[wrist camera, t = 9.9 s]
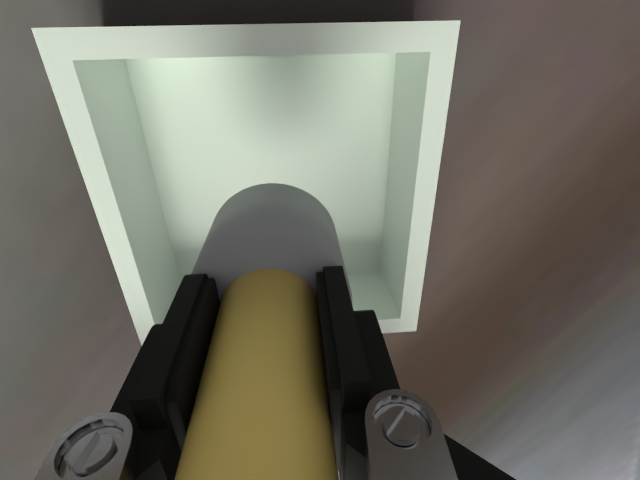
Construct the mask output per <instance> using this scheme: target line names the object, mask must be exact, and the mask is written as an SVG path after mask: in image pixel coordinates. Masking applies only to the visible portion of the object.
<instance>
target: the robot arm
mask: <svg viewBox="0 0 640 480" xmlns="http://www.w3.org/2000/svg"><path fill="white" fill-rule="evenodd" d="M316 295H317V307H318V316H319V325H320V334H321V342H322V351H323V360H324V369H325V378H326V387H327V396H328V405H329V414H330V422H331V424H332V427H333V435H334V443H335V452H336V461H337V469H338V470H339V476H340V480H516V479H514V478H513V477H511V476H509V475H508V474H506V473H505V472H503V471H502V470H500V469H498V468H497V467H495V466H494V465H492V464H491V463H489V462H487V461H486V460H484V459H483V458H481V457H480V456H478V455H476V454H475V453H473V452H472V451H470V450H469V449H467V448H465V447H464V446H462V445H461V444H459V443H458V442H456V441H454V440H453V439H451V438H450V437H448V436H447V435H445V434H443V431H442V427H441V424H440V421H439V419H438V417H437V414H436V412H435V410H434V409H433V408H432V407H431V406H430V404H429V403H428V402H427V401H426V400H424V399H423V398H421V397H420V396H419V395H417V394H415V393H412V392H409V391H407V390H400V387H399V384H398V381H397V378H396V375H395V372H394V369H393V366H392V362H391V359H390V356H389V353H388V350H387V347H386V344H385V341H384V338H383V335H382V332H381V329H380V326H379V323H378V320H377V317H376V314H375V311H374V310H359V311H354V310H353V306H352V302H351V298H350V294H349V290H348V286H347V282H346V278H345V274H344V270H343V266H342V265H341V266H324V267H323V272H316ZM219 307H220V302H219V297H218V292H217V286H216V282H215V279H214V278H208V275H207V274H189V275H185V276H184V277H183V279H182V281H181V284H180V286H179V288H178V290H177V292H176V295H175V297H174V299H173V301H172V303H171V306H170V308H169V310H168V312H167V314H166V317H165V319H164V321H163V323H162V324H155V325H153V326H152V327H151V329H150V331H149V333H148V335H147V337H146V339H145V341H144V343H143V345H142V347H141V349H140V351H139V353H138V355H137V357H136V359H135V361H134V363H133V365H132V367H131V369H130V372H129V374H128V376H127V378H126V380H125V382H124V384H123V386H122V388H121V390H120V392H119V394H118V396H117V398H116V400H115V402H114V404H113V406H112V408H111V410H110V412H104V413H100V414H96V415H92V416H90V417H88V418H86V419H84V420H82V421H80V422H78V423H77V424H75V425H74V426H72V427H71V428H70V429H68V430H67V431H66V432H65V433H64V434H63V435H62V436H61V437H60V438H59V439H58V440H57V441H56V442H55V443H54V445H53V446H52V448H51V449H50V451H49V452H48V454H47V456H46V458H45V460H44V462H43V464H42V466H41V468H40V469H39V471H38V473H37V475H36V477H35V479H34V480H175V476H176V472H177V468H178V464H179V460H180V457H181V453H182V449H183V445H184V441H185V437H186V434H187V430H188V426H189V422H190V418H191V414H192V411H193V407H194V403H195V399H196V395H197V391H198V388H199V384H200V380H201V376H202V372H203V368H204V365H205V361H206V357H207V353H208V349H209V345H210V342H211V338H212V334H213V330H214V326H215V322H216V319H217V315H218V311H219Z"/></svg>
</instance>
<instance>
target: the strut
mask: <svg viewBox="0 0 640 480" xmlns="http://www.w3.org/2000/svg"><path fill="white" fill-rule="evenodd" d="M341 265H342V266H343V270H344V274H345V278H346V282H347V286H348V290H349V294H350V298H351V302H352V293H351V288H350V284H349V280H348V276H347V273H346V269H345V265H344V261H343V257H342V253H341V249H340V245H339V241H338V237H337V234H336V230H335V226H334V223H333V220H332V218H331V216H330V214H329V212H328V211H327V209H326V208H325V207H324V205H323V204H322V203H321V202H320V201H319V200H318V199H316V198H315V197H314V196H312V195H311V194H309V193H308V192H306V191H304V190H302V189H299V188H297V187H294V186H290V185H287V184H279V183H266V184H259V185H255V186H251V187H248V188H246V189H243V190H241V191H240V192H238V193H236V194H235V195H233V196H232V197H230V198H229V199H228V200H227V201H226V202H225V203H224V204H223V205H222V207H221V208H220V209H219V211H218V213H217V215H216V216H215V219H214V221H213V223H212V226H211V228H210V230H209V233H208V235H207V238H206V240H205V242H204V245H203V247H202V249H201V252H200V254H199V256H198V259H197V261H196V264H195V266H194V268H193V271H192V273H191V274H207V275H208V278H214V279H215V282H216V286H217V292H218V297H219V302H220V307H219V311H218V315H217V319H216V322H215V326H214V330H213V334H212V338H211V342H210V345H209V349H208V353H207V357H206V361H205V365H204V368H203V372H202V376H201V380H200V384H199V388H198V391H197V395H196V399H195V403H194V407H193V411H192V414H191V418H190V422H189V426H188V430H187V434H186V437H185V441H184V445H183V449H182V453H181V457H180V460H179V464H178V468H177V472H176V476H175V480H339V478H338V469H337V461H336V452H335V443H334V435H333V427H332V424H331V422H330V414H329V405H328V396H327V387H326V378H325V369H324V360H323V351H322V342H321V334H320V325H319V316H318V307H317V295H316V272H323V267H324V266H341ZM352 304H353V303H352Z"/></svg>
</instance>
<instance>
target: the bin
mask: <svg viewBox="0 0 640 480" xmlns="http://www.w3.org/2000/svg"><path fill="white" fill-rule="evenodd" d="M459 28H460V21H404V22H347V23H290V24H232V25H175V26H118V27H61V28H31V29H32V32H33V35H34V37H35V40H36V43H37V46H38V49H39V52H40V55H41V58H42V61H43V63H44V66H45V69H46V72H47V75H48V78H49V81H50V84H51V86H52V89H53V92H54V95H55V98H56V101H57V104H58V107H59V109H60V112H61V115H62V118H63V121H64V124H65V127H66V130H67V132H68V135H69V138H70V141H71V144H72V147H73V150H74V153H75V156H76V158H77V161H78V164H79V167H80V170H81V173H82V176H83V179H84V181H85V184H86V187H87V190H88V193H89V196H90V199H91V202H92V204H93V207H94V210H95V213H96V216H97V219H98V222H99V225H100V228H101V230H102V233H103V236H104V239H105V242H106V245H107V248H108V251H109V253H110V256H111V259H112V262H113V265H114V268H115V271H116V274H117V276H118V279H119V282H120V285H121V288H122V291H123V294H124V297H125V300H126V302H127V305H128V308H129V311H130V314H131V317H132V320H133V323H134V325H135V328H136V331H137V334H138V337H139V340H140V343H141V346H142V345H143V343H144V341H145V339H146V337H147V335H148V333H149V331H150V329H151V327H152V326H153V325H155V324H162V323H163V321H164V319H165V317H166V314H167V312H168V310H169V308H170V306H171V303H172V301H173V299H174V297H175V295H176V292H177V290H178V288H179V286H180V284H181V281H182V279H183V277H184V276H185V275H189V274H191V273H192V271H193V268H194V266H195V264H196V261H197V259H198V256H199V254H200V252H201V249H202V247H203V245H204V242H205V240H206V238H207V235H208V233H209V230H210V228H211V226H212V223H213V221H214V219H215V216H216V215H217V213H218V211H219V209H220V208H221V207H222V205H223V204H224V203H225V202H226V201H227V200H228V199H229V198H230V197H232V196H233V195H235V194H236V193H238V192H240V191H241V190H243V189H246V188H248V187H251V186H255V185H259V184H266V183H279V184H287V185H290V186H294V187H297V188H299V189H302V190H304V191H306V192H308V193H309V194H311V195H312V196H314V197H315V198H316V199H318V200H319V201H320V202H321V203H322V204H323V205H324V207H325V208H326V209H327V211H328V212H329V214H330V216H331V218H332V220H333V223H334V226H335V230H336V234H337V237H338V241H339V245H340V249H341V253H342V257H343V261H344V265H345V269H346V273H347V276H348V280H349V284H350V288H351V293H352V303H353V304H352V306H353V310H354V311H359V310H374V311H375V314H376V317H377V320H378V323H379V326H380V329H381V332H382V333H395V332H408V331H416V329H417V322H418V315H419V308H420V301H421V294H422V287H423V280H424V273H425V266H426V259H427V252H428V245H429V238H430V231H431V224H432V217H433V210H434V203H435V196H436V189H437V182H438V175H439V168H440V161H441V154H442V147H443V140H444V133H445V126H446V119H447V112H448V105H449V98H450V91H451V84H452V77H453V70H454V63H455V56H456V49H457V42H458V35H459Z"/></svg>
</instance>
